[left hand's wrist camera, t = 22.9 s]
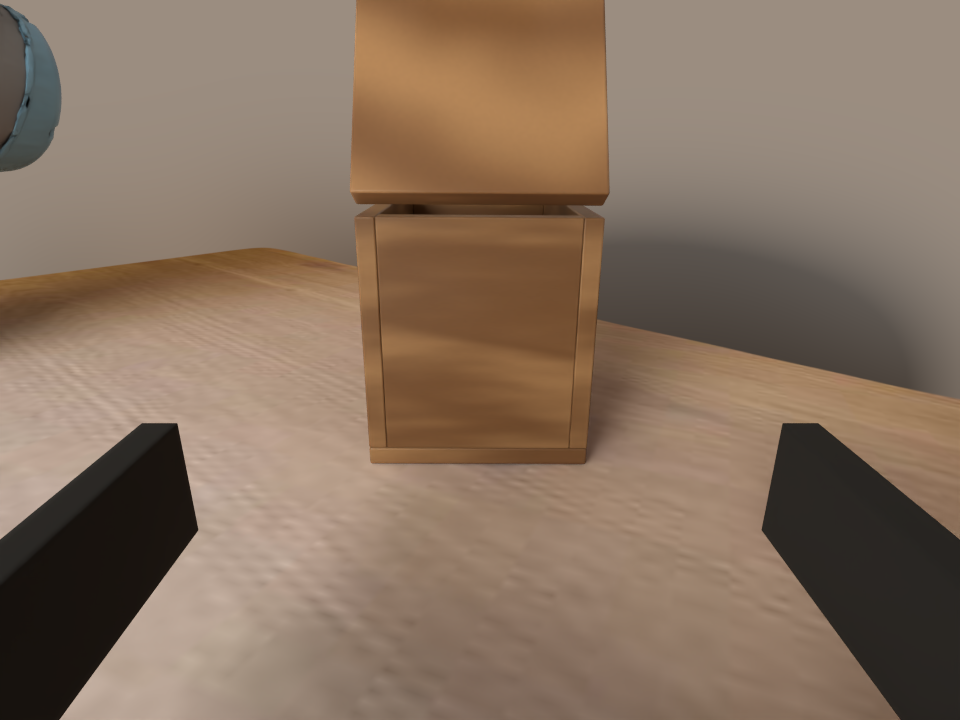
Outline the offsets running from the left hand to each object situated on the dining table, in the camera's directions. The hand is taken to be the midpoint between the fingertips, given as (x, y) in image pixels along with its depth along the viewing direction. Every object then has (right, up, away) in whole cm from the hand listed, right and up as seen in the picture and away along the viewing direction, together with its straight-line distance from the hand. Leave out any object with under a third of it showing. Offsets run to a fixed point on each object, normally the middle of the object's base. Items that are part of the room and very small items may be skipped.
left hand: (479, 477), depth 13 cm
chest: (0, +1, +19) cm, 19 cm away
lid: (0, +16, +10) cm, 19 cm away
